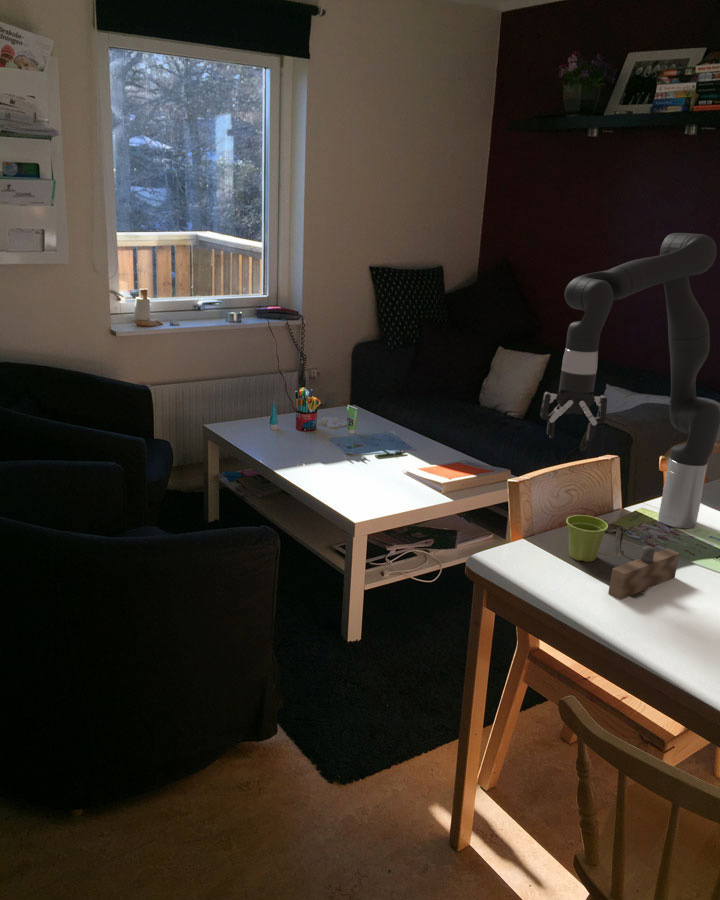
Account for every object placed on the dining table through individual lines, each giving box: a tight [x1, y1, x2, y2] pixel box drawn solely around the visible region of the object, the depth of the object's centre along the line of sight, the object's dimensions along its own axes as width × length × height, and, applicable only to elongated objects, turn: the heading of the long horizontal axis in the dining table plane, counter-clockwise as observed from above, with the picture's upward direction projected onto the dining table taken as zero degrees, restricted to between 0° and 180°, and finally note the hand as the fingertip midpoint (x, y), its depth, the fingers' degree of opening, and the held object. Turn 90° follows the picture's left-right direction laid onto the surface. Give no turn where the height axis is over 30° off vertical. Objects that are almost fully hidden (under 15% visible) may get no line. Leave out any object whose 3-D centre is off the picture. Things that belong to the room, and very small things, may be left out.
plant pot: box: [565, 514, 609, 563], centre depth 187 cm, size 9×9×9 cm
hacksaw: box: [597, 519, 635, 561], centre depth 197 cm, size 24×10×2 cm, turn 160°
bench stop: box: [607, 545, 680, 600], centre depth 174 cm, size 20×3×9 cm, turn 126°
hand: (569, 438), depth 184 cm, fingers open, 8 cm apart
